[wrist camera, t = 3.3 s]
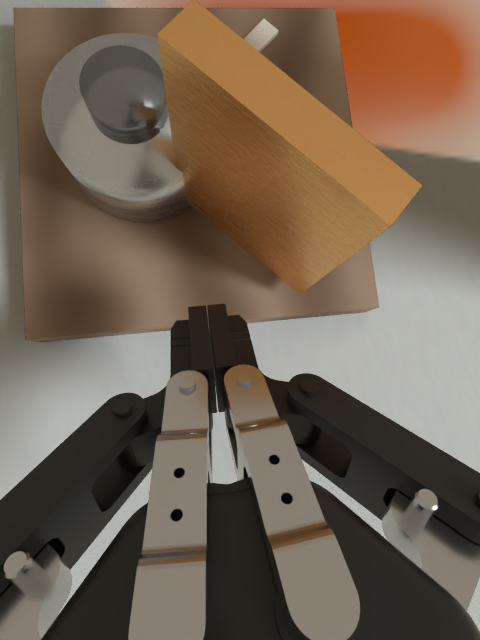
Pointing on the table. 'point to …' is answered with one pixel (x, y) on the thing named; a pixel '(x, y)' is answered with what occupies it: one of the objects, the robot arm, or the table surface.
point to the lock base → (170, 234)
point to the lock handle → (219, 145)
